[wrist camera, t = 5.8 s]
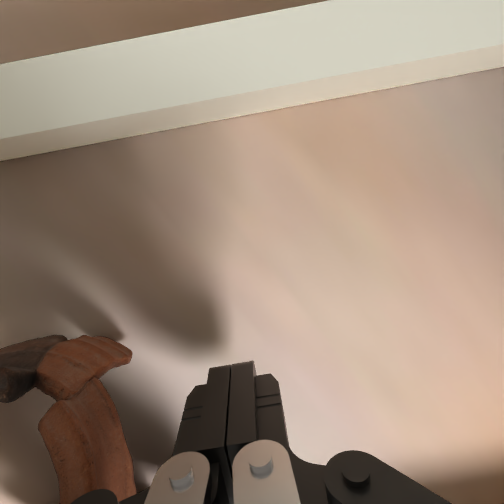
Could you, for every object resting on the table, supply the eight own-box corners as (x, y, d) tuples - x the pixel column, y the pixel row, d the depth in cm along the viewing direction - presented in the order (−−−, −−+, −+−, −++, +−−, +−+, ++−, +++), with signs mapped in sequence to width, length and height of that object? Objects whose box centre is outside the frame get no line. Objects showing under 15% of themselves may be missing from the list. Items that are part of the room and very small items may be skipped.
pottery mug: (-16, 515, 16) (-330, 685, 8) (73, 313, 18) (-98, 283, 10) (234, 640, 13) (156, 1052, 6) (300, 393, 16) (311, 435, 8)
